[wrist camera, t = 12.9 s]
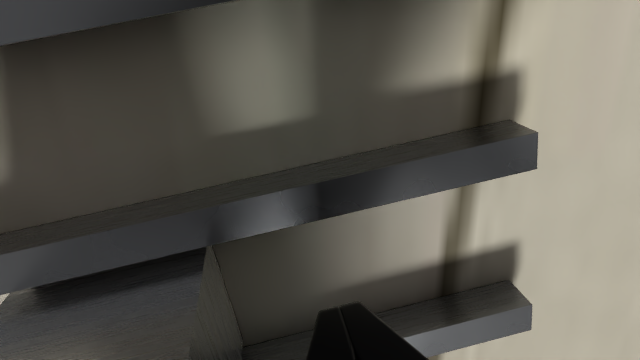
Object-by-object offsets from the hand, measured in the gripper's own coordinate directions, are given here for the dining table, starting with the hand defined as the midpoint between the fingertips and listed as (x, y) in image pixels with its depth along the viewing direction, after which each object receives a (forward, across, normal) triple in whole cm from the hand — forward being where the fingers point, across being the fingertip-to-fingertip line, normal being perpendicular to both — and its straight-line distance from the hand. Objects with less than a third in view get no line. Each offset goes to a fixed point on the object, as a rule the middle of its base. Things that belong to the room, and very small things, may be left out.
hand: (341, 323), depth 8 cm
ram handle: (+2, +4, 0) cm, 5 cm away
